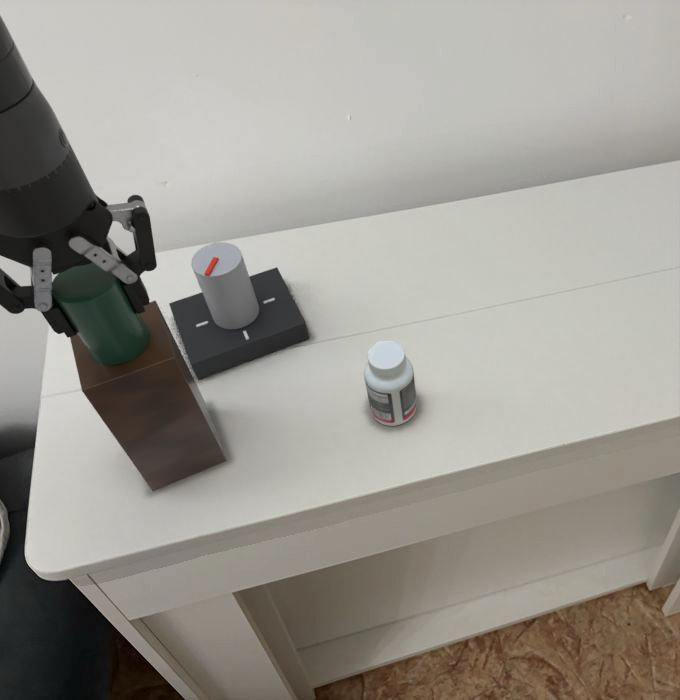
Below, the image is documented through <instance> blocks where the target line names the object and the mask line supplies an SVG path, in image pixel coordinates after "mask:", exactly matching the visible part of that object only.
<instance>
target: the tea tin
mask: <svg viewBox="0 0 680 700" xmlns="http://www.w3.org/2000/svg"><path fill="white" fill-rule="evenodd" d="M52 295H53V297H54V298H55V300H56V301H57V303H58V304H59V306H60V307H61V309H62V311H63V312H64V314H65V315H66V317H67V318H68V320H69V321H70V323H71V325H72V326H73V328H74V329H75V331H76V332H77V334H78V335H79V337H80V339H81V340H82V342H83V343H84V345H85V346H86V348H87V349H88V351H89V353H90V354H91V356H92V357H93V358H94V360H96V361H97V362H99V363H101V364H105V365H119V364H123V363H126V362H129V361H131V360H133V359H135V358H136V357H138V356H139V355H140V354H141V353H142V352H143V351H144V350H145V349H146V348H147V346H148V344H149V341H150V333H149V331H148V329H147V327H146V325H145V323H144V321H143V319H142V317H141V315H140V314H137V312H136V310H135V308H134V306H133V304H132V302H131V301H130V299H129V297H128V295H127V293H126V291H125V289H124V287H123V284H122V281H121V280H120V279H119V278H117V277H116V276H115V275H113V274H112V273H111V272H108V273H107V272H105V271H104V270H103V269H101V268H100V267H99V266H97V265H96V264H94V263H91V264H87V265H83V266H74V267H72V268H70V269H68V270H66V271H64V272H61V273H58V274H56V276H54V278H53V279H52Z"/></svg>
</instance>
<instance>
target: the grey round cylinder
mask: <svg viewBox="0 0 680 700" xmlns="http://www.w3.org/2000/svg"><path fill="white" fill-rule="evenodd" d="M190 262H191V265H190V266H191V268H192V271H193V274H194V277H195V278H196V281H197V283H198V286H199V288H200V290H201V293H203V295H204V298H205V300H206V303H207V305H208V308H209V310H210V312H211V315H212V317H213V320H214V322H215V323H216V324H217V325H218V326H220V327H222V328H224V329H239V328H243V327H245V326H247V325H249V324H250V323H252V322H253V321H254V320H255V319H256V317H257V316H258V313H259V305H258V302H257V299H256V296H255V293H254V290H253V287H252V284H251V281H250V278H249V276H250V275H249V271H248V269H247V265H246V263H245V259H244V255H243V253H242V251H241V249H240V248H239V247H238V246H237V245H235V244H233V243H229V242H221V241H220V242H214V243H209V244H207V245H205V246H202V247H201V248H200V249H198V250H197V251H196V252H195V253H194V254H193V256H192V258H191V261H190Z"/></svg>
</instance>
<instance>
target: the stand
mask: <svg viewBox="0 0 680 700" xmlns="http://www.w3.org/2000/svg"><path fill="white" fill-rule="evenodd" d="M144 307H145V310H146V312H143V313H140V315H141V317H142V319H143V321H144V323H145V325H146V327H147V329H148V331H149V333H150V341H149V344H148V346H147V348H146V349H145V350H144V351H143V352H142V353H141V354H140V355H139V356H138V357H136V358H135V359H133V360H131V361H129V362H126V363H123V364H119V365H105V364H101V363H99V362H97V361H96V360H94V358H93V357H92V356H91V354H90V353H89V351H88V349H87V348H86V346H85V345H84V343H83V342H82V340H81V339H80V337H79V335H78V334H77V332H76V334H77V335H75V336H72V337H69V339H70V344H71V348H72V353H73V357H74V358H73V359H74V362H75V366H76V371H77V375H78V380H79V385H80V389H81V392H82V393H83V395H84V396H85V397H86V399H87V400H88V401H89V404H90V405H91V406H92V407H93V409H94V410H95V412H96V413H97V415H98V416H99V417H100V419H101V420H102V421H103V423H104V425H105V426H106V428H107V429H108V430H109V431H110V433H111V435H112V436H113V437H114V438H115V440H116V441H117V443H118V444H119V446H120V448H121V449H122V450H123V451H124V453H125V455H126V456H127V457H128V458H129V460H130V461H131V463H132V464H133V466H134V467H135V468H136V470H137V472H138V473H139V474H140V476H141V477H142V478H143V480H144V482H145V483H146V485H147V486H148V487H149V488H150V490H151V491H152V492H154V491H157V490H159V489H161V488H165V487H166V486H168V485H171V484H173V483H176V482H178V481H181V480H183V479H186V478H188V477H190V476H193V475H196V474H198V473H200V472H203V471H205V470H208V469H210V468H212V467H215V466H217V465H220V464H223V463H224V462H227V457H226V455H225V451H224V448H223V446H222V443H221V441H220V437H219V435H218V431H217V429H216V426H215V423H214V421H213V417H212V415H211V412H210V410H209V409H210V408H209V407H208V405H207V403H206V401H205V399H204V397H203V395H202V393H201V391H200V389H199V387H198V385H197V383H196V380H195V378H194V376H193V375H192V372H191V370H190V368H189V366H188V364H187V362H186V359H185V357H184V355H183V354H182V352H181V349H180V348H179V345H178V343H177V342H176V340H175V337H174V335H173V333H172V331H171V329H170V327H169V325H168V323H167V321H166V319H165V317H164V315H163V312H162V311H161V308H160V306H159V304H158V302H157V301H156V300H153V301H149V304H148V305H145V306H144Z"/></svg>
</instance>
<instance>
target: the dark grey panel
mask: <svg viewBox="0 0 680 700" xmlns="http://www.w3.org/2000/svg"><path fill="white" fill-rule="evenodd" d="M249 278H250V281H251V284H252V287H253V290H254V293H255V296H256V299H257V302H258V305H259V313H258V316H257V317H256V319H255V320H254V321H253V322H252V323H250V324H249V325H247V326H245V327H243V328H239V329H224V328H222V327H220V326H218V325H217V324H216V323H215V322H214V320H213V317H212V315H211V312H210V310H209V308H208V305H207V303H206V300H205V298H204V295H203V293H202V292H199V293H195V294H193V295H190V296H187V297H184V298H181V299H178V300H175V301H172V302H169V303H168V305H169V308H170V310H171V313H172V316H173V319H174V322H175V325H176V327H177V330H178V333H179V336H180V338H181V342H182V345H183V347H184V350H185V353H186V355H187V358H188V361H189V364H190V366H191V369H192V371H193V372H194V375H195V377H196V379H197V380H198V381H199V380H201V379H204V378H207V377H210V376H213V375H216V374H218V373H221V372H223V371H225V370H229V369H231V368H234V367H237V366H239V365H242V364H245V363H248V362H250V361H253V360H256V359H258V358H261V357H263V356H266V355H270V354H271V353H275V352H277V351H280V350H283V349H285V348H288V347H290V346H293V345H296V344H298V343H302V342H304V341H306V340H309V339H310V334H309V331H308V327H307V323H306V321H305V319H304V317H303V315H302V313H301V311H300V309H299V306H298V305H297V303H296V301H295V299H294V297H293V295H292V293H291V292H290V289H289V288H288V286H287V284H286V282H285V280H284V277H283V276H282V274H281V271H280V270H279V268H278V267H277V266H276V267H273V268H271V269H267V270H265V271H262V272H258V273H255V274H253V275H249Z"/></svg>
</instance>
